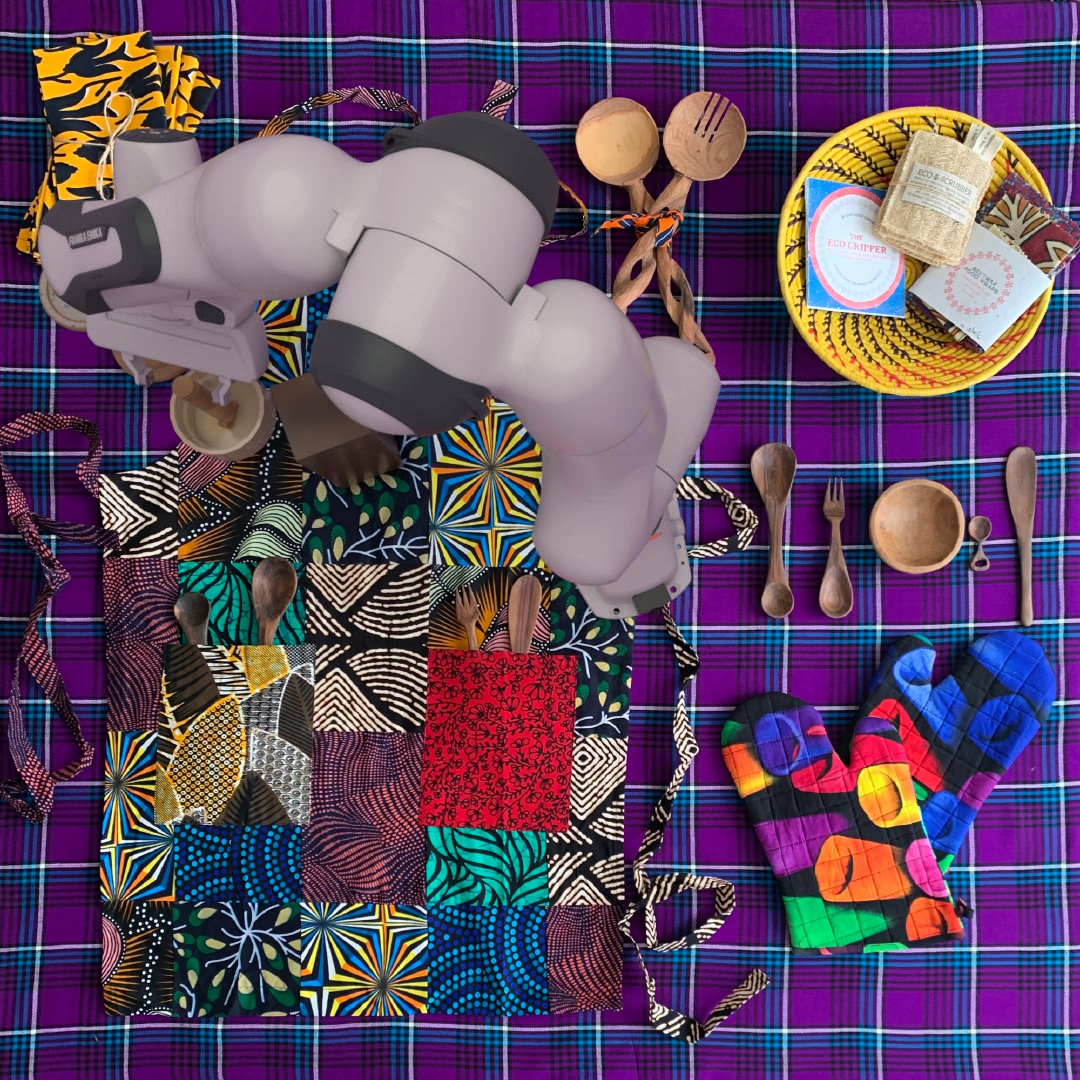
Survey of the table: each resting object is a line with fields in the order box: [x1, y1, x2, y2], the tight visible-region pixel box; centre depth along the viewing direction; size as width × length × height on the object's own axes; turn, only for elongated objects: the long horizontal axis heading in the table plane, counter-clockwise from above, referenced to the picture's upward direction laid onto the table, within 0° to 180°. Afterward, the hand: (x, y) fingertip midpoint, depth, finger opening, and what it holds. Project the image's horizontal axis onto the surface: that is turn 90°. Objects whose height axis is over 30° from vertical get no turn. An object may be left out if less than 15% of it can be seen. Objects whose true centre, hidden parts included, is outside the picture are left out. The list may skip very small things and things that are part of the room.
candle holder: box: [38, 270, 190, 383], centre depth 114 cm, size 12×12×20 cm
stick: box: [171, 375, 239, 430], centre depth 115 cm, size 4×3×16 cm
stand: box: [268, 371, 405, 490], centre depth 112 cm, size 9×9×22 cm
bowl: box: [169, 369, 277, 462], centre depth 120 cm, size 12×12×6 cm
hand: (183, 393), depth 107 cm, fingers open, 8 cm apart
